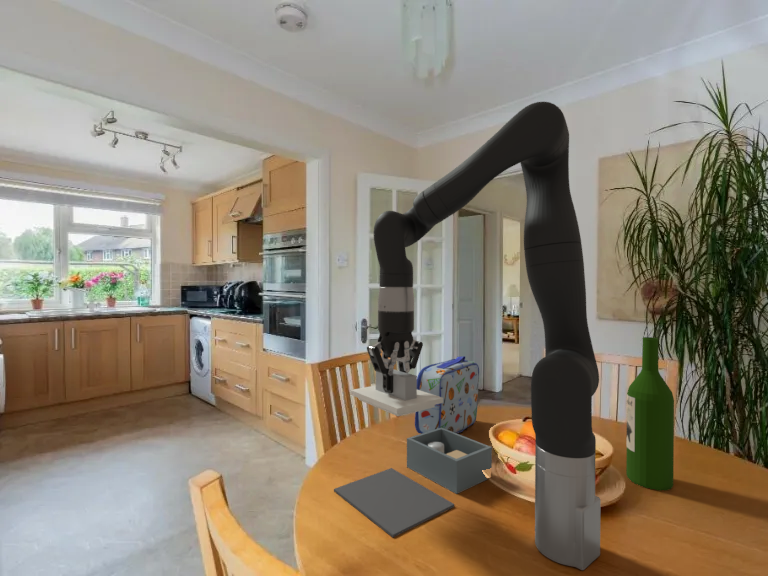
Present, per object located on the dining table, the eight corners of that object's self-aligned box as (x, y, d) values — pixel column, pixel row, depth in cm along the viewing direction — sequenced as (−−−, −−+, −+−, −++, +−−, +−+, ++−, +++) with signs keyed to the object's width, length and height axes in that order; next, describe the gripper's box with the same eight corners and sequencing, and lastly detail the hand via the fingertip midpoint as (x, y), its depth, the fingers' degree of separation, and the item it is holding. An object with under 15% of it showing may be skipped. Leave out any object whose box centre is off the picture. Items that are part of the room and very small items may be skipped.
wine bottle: (620, 470, 96) (621, 334, 96) (661, 473, 94) (663, 336, 94) (635, 488, 88) (636, 340, 87) (681, 492, 86) (683, 341, 85)
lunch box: (454, 414, 137) (454, 350, 137) (483, 421, 131) (483, 353, 131) (410, 439, 115) (410, 363, 115) (442, 448, 109) (442, 367, 109)
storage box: (491, 477, 92) (491, 447, 92) (456, 494, 85) (456, 461, 85) (441, 454, 105) (441, 427, 105) (406, 466, 98) (406, 438, 98)
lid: (443, 407, 81) (443, 375, 81) (397, 419, 74) (397, 384, 74) (393, 390, 94) (394, 362, 94) (350, 399, 87) (350, 369, 87)
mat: (454, 506, 80) (454, 504, 80) (392, 537, 70) (392, 534, 70) (391, 470, 96) (391, 467, 96) (333, 491, 86) (333, 488, 86)
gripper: (379, 311, 76) (379, 401, 77) (432, 308, 85) (432, 389, 85) (358, 308, 82) (357, 392, 83) (409, 306, 91) (409, 382, 91)
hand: (395, 390), depth 84 cm, fingers closed on lid, 3 cm apart
